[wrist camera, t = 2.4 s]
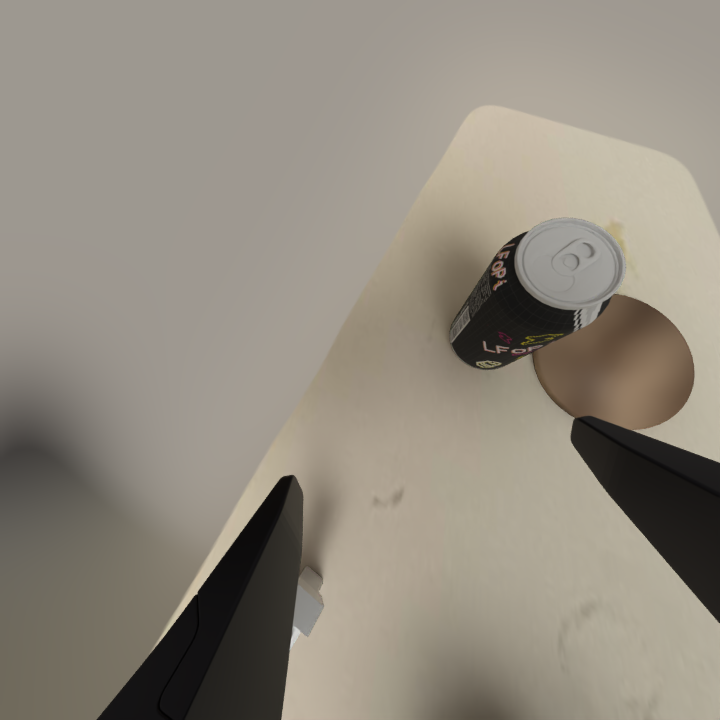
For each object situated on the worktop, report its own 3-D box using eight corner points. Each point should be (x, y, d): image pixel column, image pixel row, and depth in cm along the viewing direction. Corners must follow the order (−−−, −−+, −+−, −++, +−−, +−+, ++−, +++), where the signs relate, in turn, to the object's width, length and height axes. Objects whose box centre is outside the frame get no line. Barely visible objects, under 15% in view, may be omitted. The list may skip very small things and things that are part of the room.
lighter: (293, 632, 20) (233, 762, 12) (275, 615, 21) (206, 732, 13) (345, 544, 21) (321, 614, 13) (327, 529, 22) (294, 590, 14)
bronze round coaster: (699, 334, 22) (713, 330, 21) (653, 457, 20) (666, 459, 19) (563, 278, 24) (570, 272, 23) (511, 385, 23) (516, 384, 22)
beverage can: (530, 347, 23) (675, 272, 11) (475, 384, 23) (566, 346, 11) (486, 297, 24) (576, 183, 13) (434, 331, 24) (477, 248, 13)
